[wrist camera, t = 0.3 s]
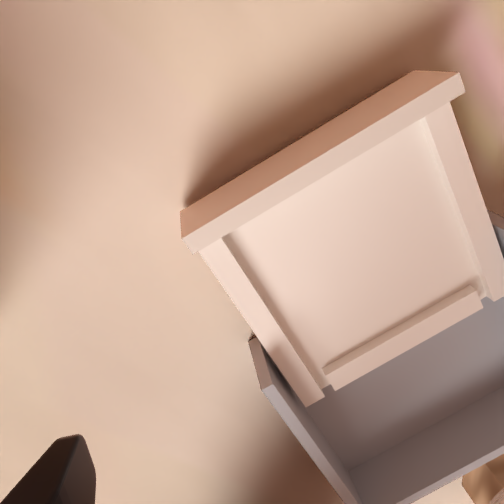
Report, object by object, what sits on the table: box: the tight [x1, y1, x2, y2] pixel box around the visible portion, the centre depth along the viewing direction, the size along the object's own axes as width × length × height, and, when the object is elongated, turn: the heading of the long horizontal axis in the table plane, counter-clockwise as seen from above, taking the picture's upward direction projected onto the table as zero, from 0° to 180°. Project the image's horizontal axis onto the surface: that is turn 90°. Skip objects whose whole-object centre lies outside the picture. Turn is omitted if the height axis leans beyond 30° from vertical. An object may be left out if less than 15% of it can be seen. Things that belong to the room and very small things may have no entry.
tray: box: [180, 70, 504, 407], centre depth 21 cm, size 12×12×4 cm
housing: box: [248, 210, 504, 504], centre depth 25 cm, size 12×14×4 cm
